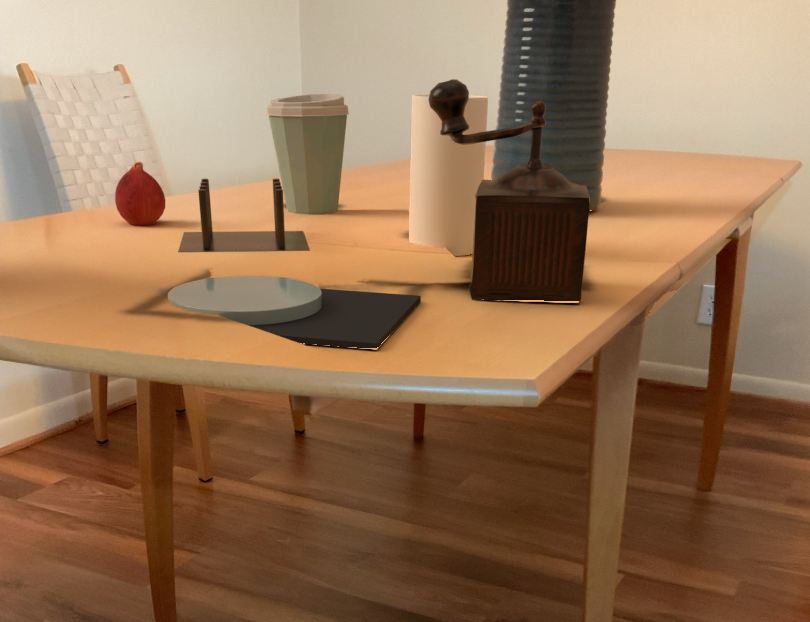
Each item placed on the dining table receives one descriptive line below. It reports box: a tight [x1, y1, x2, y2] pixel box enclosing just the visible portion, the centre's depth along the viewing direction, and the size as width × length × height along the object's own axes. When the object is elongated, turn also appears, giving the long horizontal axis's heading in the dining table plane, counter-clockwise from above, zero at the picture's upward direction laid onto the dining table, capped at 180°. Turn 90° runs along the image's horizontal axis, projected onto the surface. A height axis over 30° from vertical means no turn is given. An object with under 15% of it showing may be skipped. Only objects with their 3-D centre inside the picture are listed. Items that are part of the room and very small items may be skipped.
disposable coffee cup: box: [266, 93, 350, 215], centre depth 120 cm, size 11×11×15 cm
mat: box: [250, 287, 422, 348], centre depth 78 cm, size 20×16×1 cm
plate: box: [167, 275, 322, 327], centre depth 78 cm, size 1×13×13 cm
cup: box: [408, 93, 489, 257], centre depth 102 cm, size 8×8×16 cm
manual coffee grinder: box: [428, 78, 590, 302], centre depth 85 cm, size 16×11×18 cm
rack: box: [177, 178, 311, 253], centre depth 102 cm, size 12×14×7 cm
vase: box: [490, 0, 617, 211], centre depth 128 cm, size 16×16×32 cm
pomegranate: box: [114, 161, 166, 227], centre depth 110 cm, size 6×6×8 cm
